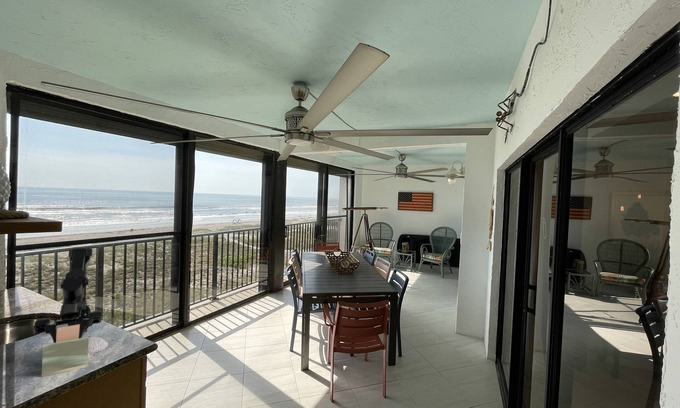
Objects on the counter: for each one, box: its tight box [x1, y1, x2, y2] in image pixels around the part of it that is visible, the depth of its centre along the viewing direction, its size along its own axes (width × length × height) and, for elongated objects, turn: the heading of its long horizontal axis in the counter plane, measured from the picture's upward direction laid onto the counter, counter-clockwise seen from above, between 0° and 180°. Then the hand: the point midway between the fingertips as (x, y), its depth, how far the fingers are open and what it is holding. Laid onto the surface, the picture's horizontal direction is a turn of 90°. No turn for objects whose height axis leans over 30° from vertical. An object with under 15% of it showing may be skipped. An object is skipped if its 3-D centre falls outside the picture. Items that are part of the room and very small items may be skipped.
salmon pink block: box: [56, 324, 80, 343], centre depth 108 cm, size 3×6×12 cm, turn 128°
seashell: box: [88, 336, 109, 355], centre depth 121 cm, size 10×6×10 cm
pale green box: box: [41, 336, 90, 378], centre depth 108 cm, size 10×12×11 cm
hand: (67, 343), depth 107 cm, fingers closed on salmon pink block, 6 cm apart
